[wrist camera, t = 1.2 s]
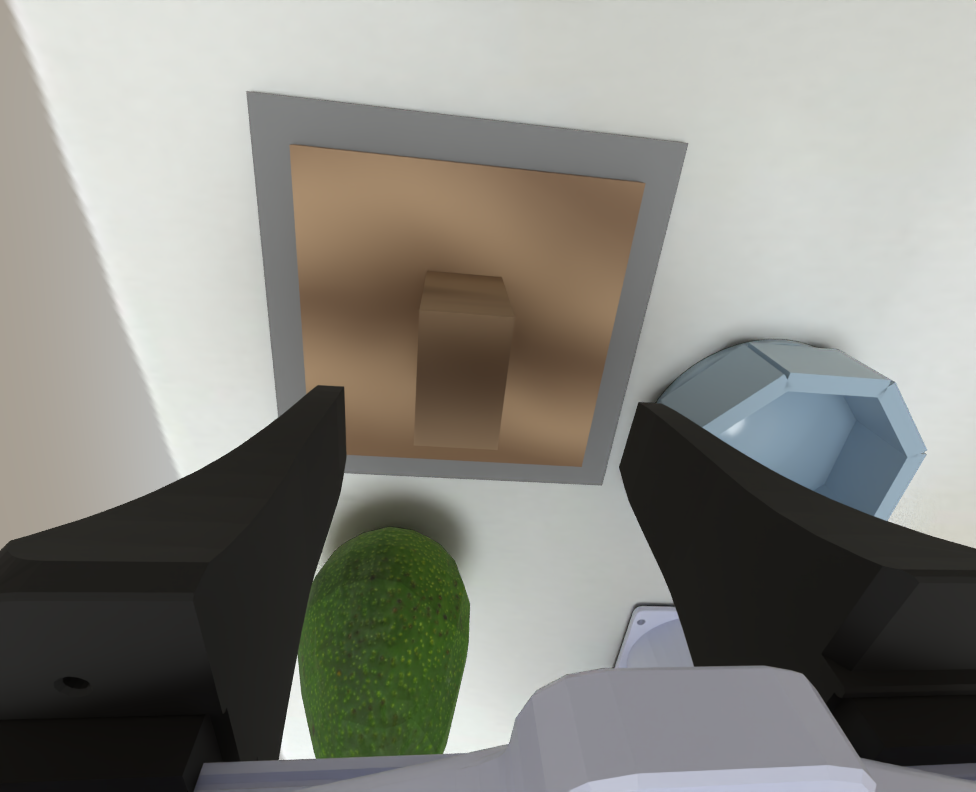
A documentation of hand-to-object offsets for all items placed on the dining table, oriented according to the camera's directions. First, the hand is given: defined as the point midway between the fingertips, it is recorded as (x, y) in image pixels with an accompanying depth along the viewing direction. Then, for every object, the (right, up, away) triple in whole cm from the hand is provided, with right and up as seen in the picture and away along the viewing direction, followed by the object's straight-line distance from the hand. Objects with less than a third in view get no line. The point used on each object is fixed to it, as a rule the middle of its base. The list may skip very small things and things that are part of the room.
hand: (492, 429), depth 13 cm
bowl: (+13, -1, +14) cm, 19 cm away
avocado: (-5, -7, +16) cm, 18 cm away
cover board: (-1, +4, +10) cm, 10 cm away
